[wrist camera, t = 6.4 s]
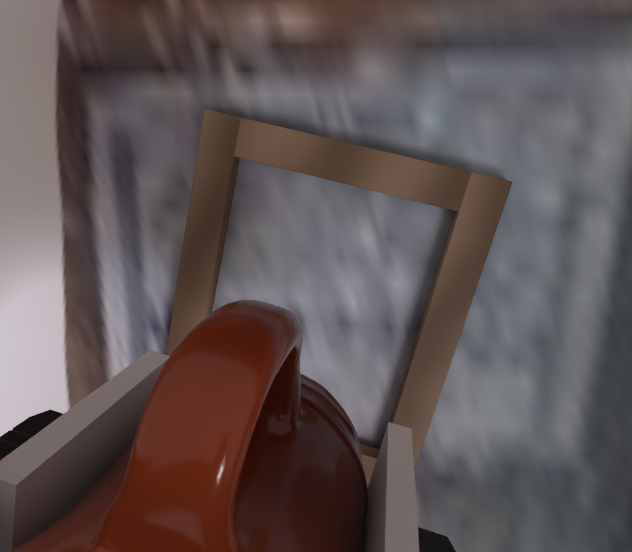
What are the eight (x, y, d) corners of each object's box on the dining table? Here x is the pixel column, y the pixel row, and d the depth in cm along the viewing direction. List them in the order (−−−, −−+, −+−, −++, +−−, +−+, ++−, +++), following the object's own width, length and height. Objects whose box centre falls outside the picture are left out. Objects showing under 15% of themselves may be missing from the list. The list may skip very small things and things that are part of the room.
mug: (352, 576, 18) (298, 1098, 8) (142, 502, 18) (-148, 885, 9) (452, 284, 14) (576, 531, 5) (193, 211, 15) (-170, 288, 5)
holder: (507, 181, 23) (512, 181, 22) (404, 486, 28) (404, 497, 27) (211, 110, 25) (204, 108, 24) (163, 412, 30) (155, 420, 29)
